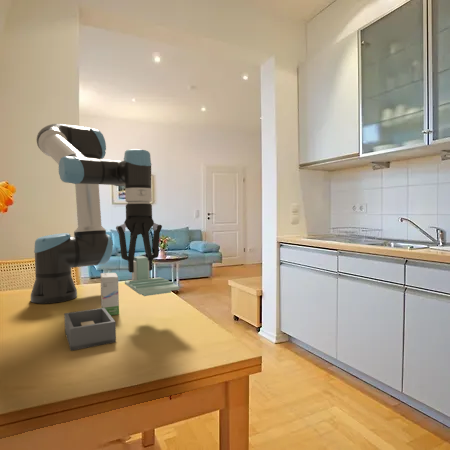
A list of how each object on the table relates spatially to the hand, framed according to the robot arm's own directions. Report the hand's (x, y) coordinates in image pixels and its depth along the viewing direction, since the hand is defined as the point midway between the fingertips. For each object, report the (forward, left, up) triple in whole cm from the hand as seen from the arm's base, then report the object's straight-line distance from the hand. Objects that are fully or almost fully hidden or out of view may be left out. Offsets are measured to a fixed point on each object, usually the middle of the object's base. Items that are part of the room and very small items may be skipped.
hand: (140, 282), depth 103 cm
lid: (+7, 0, 0) cm, 8 cm away
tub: (+10, -16, -10) cm, 21 cm away
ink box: (-10, -7, -11) cm, 16 cm away
